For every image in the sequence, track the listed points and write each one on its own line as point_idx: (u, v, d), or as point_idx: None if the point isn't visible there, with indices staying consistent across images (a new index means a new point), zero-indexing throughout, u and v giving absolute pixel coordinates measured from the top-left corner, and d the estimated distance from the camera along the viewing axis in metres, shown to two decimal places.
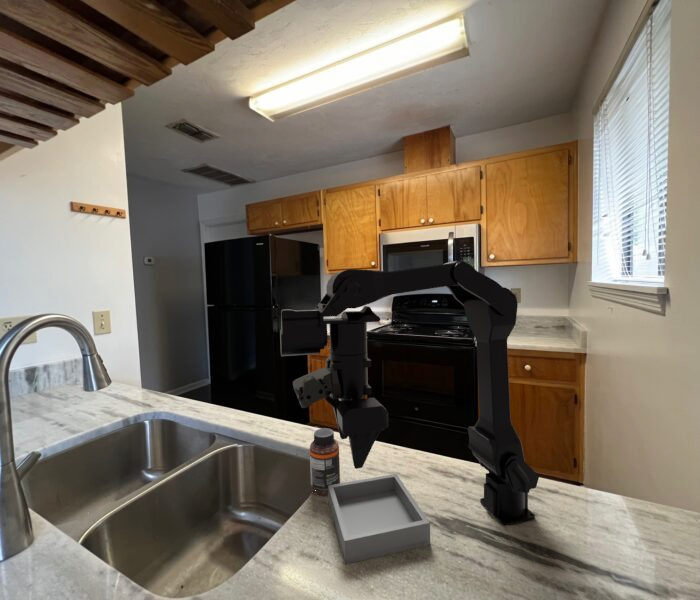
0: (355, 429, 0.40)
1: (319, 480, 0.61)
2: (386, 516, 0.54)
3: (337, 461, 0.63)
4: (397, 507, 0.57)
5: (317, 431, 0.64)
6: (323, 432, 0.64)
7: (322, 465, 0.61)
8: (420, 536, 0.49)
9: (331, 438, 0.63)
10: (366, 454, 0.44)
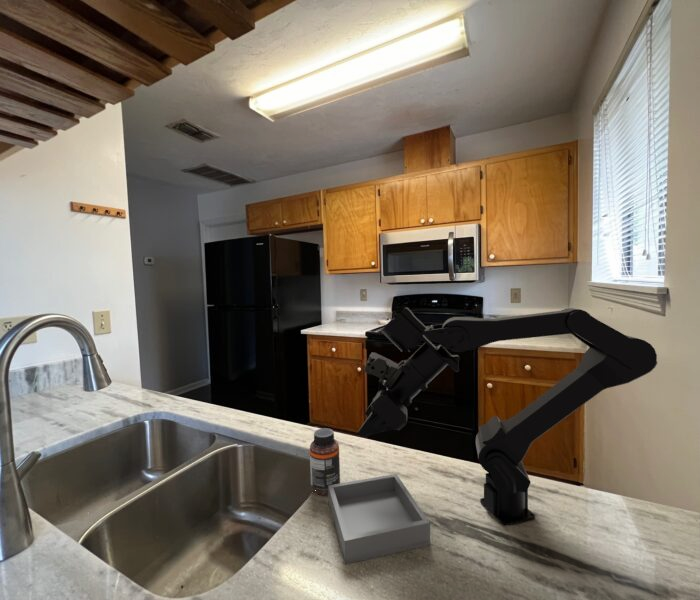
0: (379, 410, 0.52)
1: (319, 480, 0.61)
2: (386, 516, 0.54)
3: (337, 461, 0.63)
4: (397, 507, 0.57)
5: (317, 431, 0.64)
6: (323, 432, 0.64)
7: (322, 465, 0.61)
8: (420, 536, 0.49)
9: (331, 438, 0.63)
10: (370, 432, 0.57)
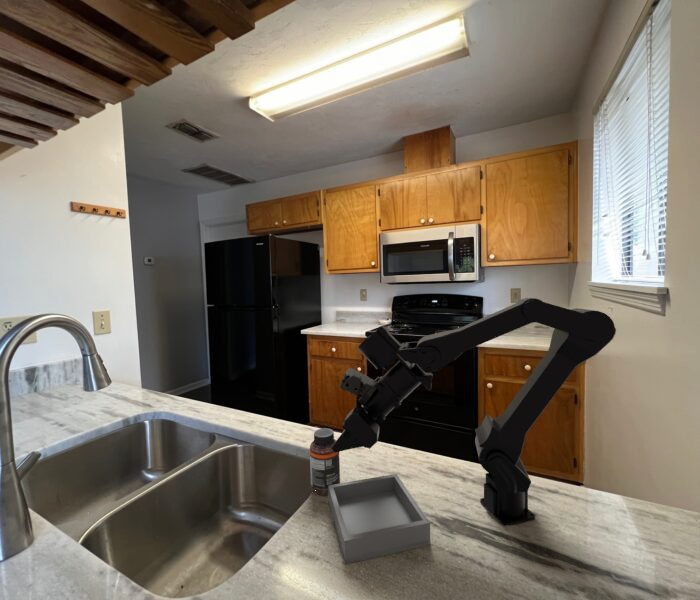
0: (351, 428, 0.53)
1: (319, 480, 0.61)
2: (386, 516, 0.54)
3: (337, 461, 0.63)
4: (397, 507, 0.57)
5: (317, 431, 0.64)
6: (323, 432, 0.64)
7: (322, 465, 0.61)
8: (420, 536, 0.49)
9: (331, 438, 0.63)
10: (344, 449, 0.58)
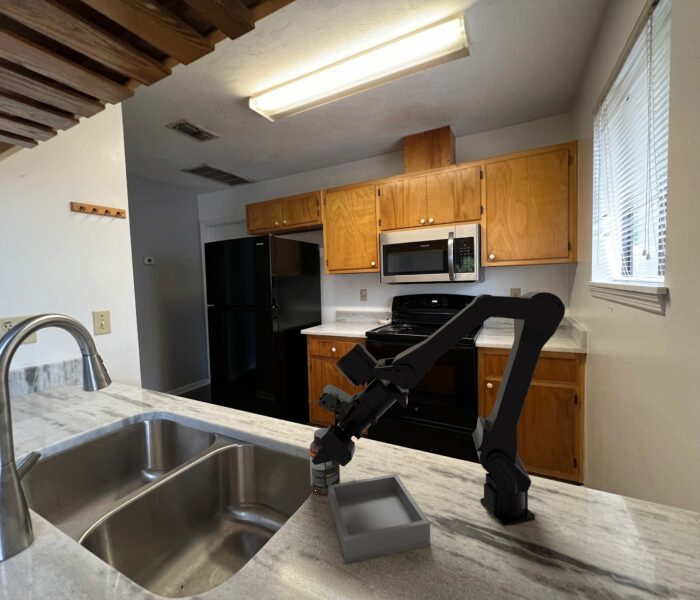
0: (325, 446, 0.54)
1: (319, 480, 0.61)
2: (386, 516, 0.54)
3: None
4: (397, 507, 0.57)
5: (317, 431, 0.64)
6: (323, 432, 0.64)
7: (322, 465, 0.61)
8: (420, 536, 0.49)
9: None
10: (323, 461, 0.60)
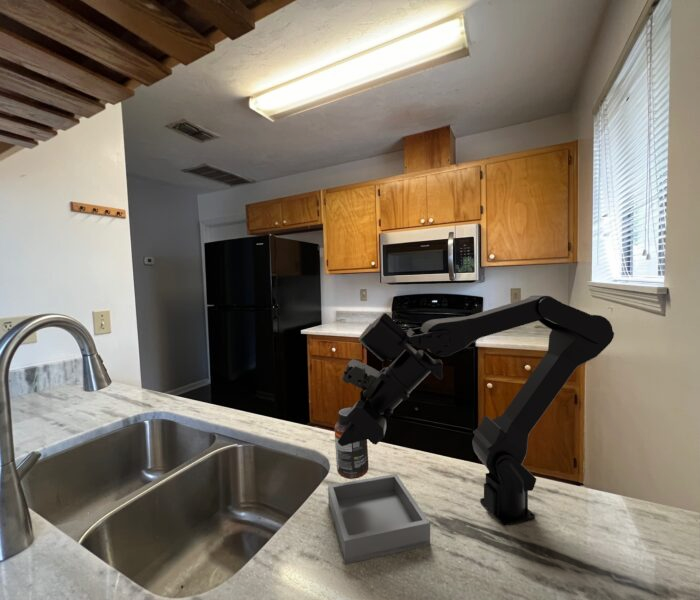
0: (354, 422, 0.49)
1: (346, 463, 0.56)
2: (386, 516, 0.54)
3: (365, 442, 0.57)
4: (397, 507, 0.57)
5: (342, 410, 0.59)
6: (348, 411, 0.58)
7: (349, 446, 0.56)
8: (420, 536, 0.49)
9: None
10: (350, 442, 0.55)
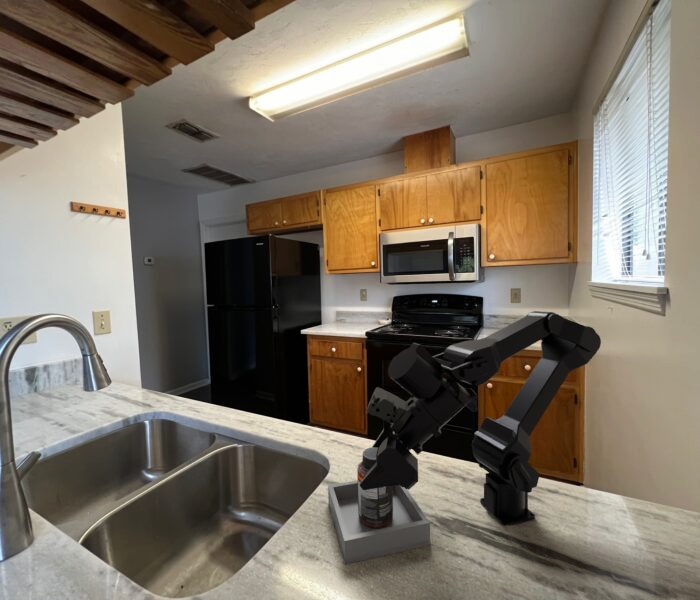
0: (386, 465, 0.44)
1: (371, 511, 0.51)
2: None
3: (391, 488, 0.53)
4: (397, 507, 0.57)
5: (366, 451, 0.54)
6: (373, 453, 0.54)
7: (375, 493, 0.51)
8: (420, 536, 0.49)
9: None
10: (375, 486, 0.48)
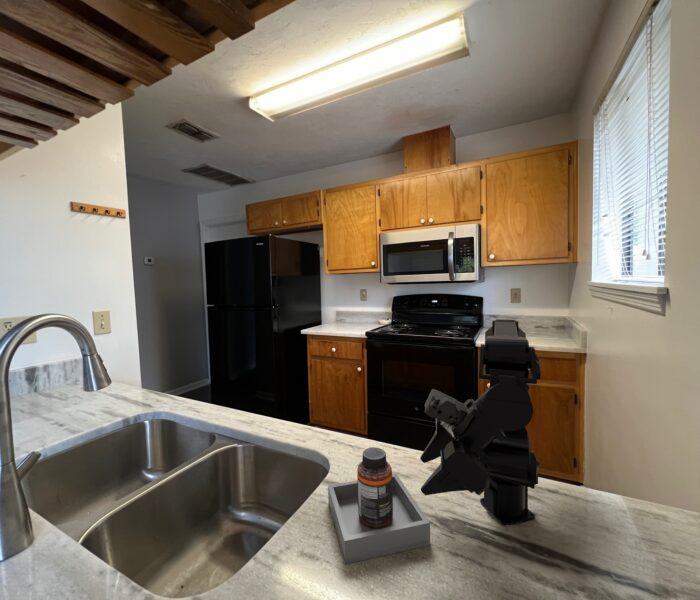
0: (455, 469, 0.42)
1: (371, 511, 0.51)
2: None
3: (391, 488, 0.53)
4: (397, 507, 0.57)
5: (366, 451, 0.54)
6: (373, 453, 0.54)
7: (374, 493, 0.51)
8: (420, 536, 0.49)
9: (384, 460, 0.53)
10: (438, 491, 0.47)
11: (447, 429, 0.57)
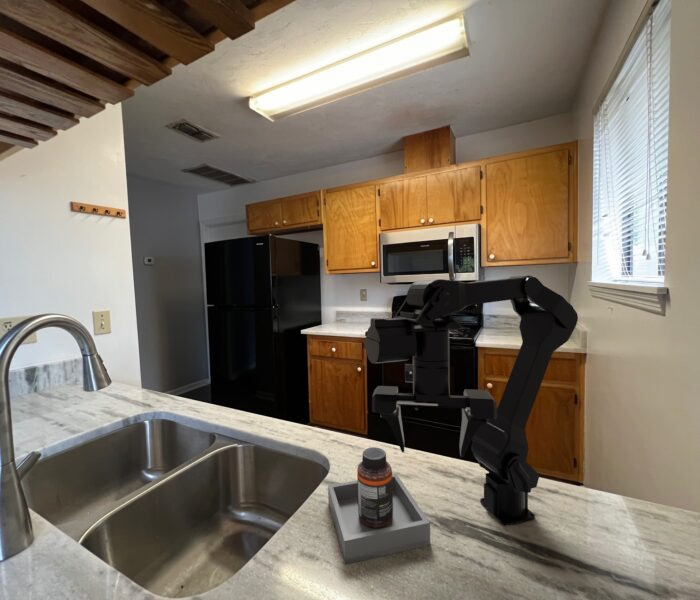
0: None
1: (371, 511, 0.51)
2: None
3: (391, 488, 0.53)
4: (397, 507, 0.57)
5: (366, 451, 0.54)
6: (373, 453, 0.54)
7: (374, 493, 0.51)
8: (420, 536, 0.49)
9: (384, 460, 0.53)
10: (397, 440, 0.52)
11: (466, 410, 0.51)
